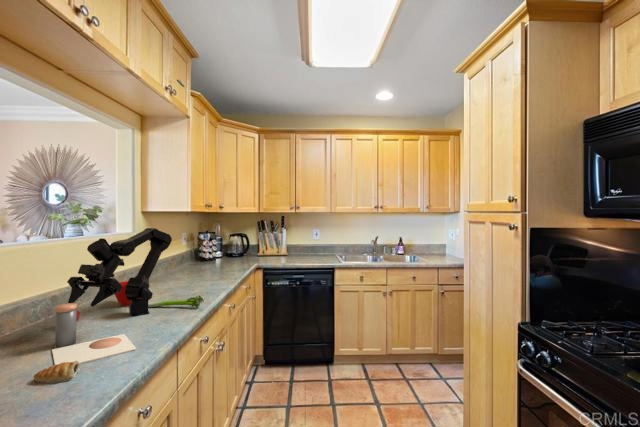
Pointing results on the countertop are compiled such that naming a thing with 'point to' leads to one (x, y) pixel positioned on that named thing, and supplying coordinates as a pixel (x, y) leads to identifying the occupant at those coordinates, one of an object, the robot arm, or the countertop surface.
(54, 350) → the card
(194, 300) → the celery
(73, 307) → the tube
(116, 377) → the countertop surface
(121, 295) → the ceramic cup
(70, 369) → the pastry
